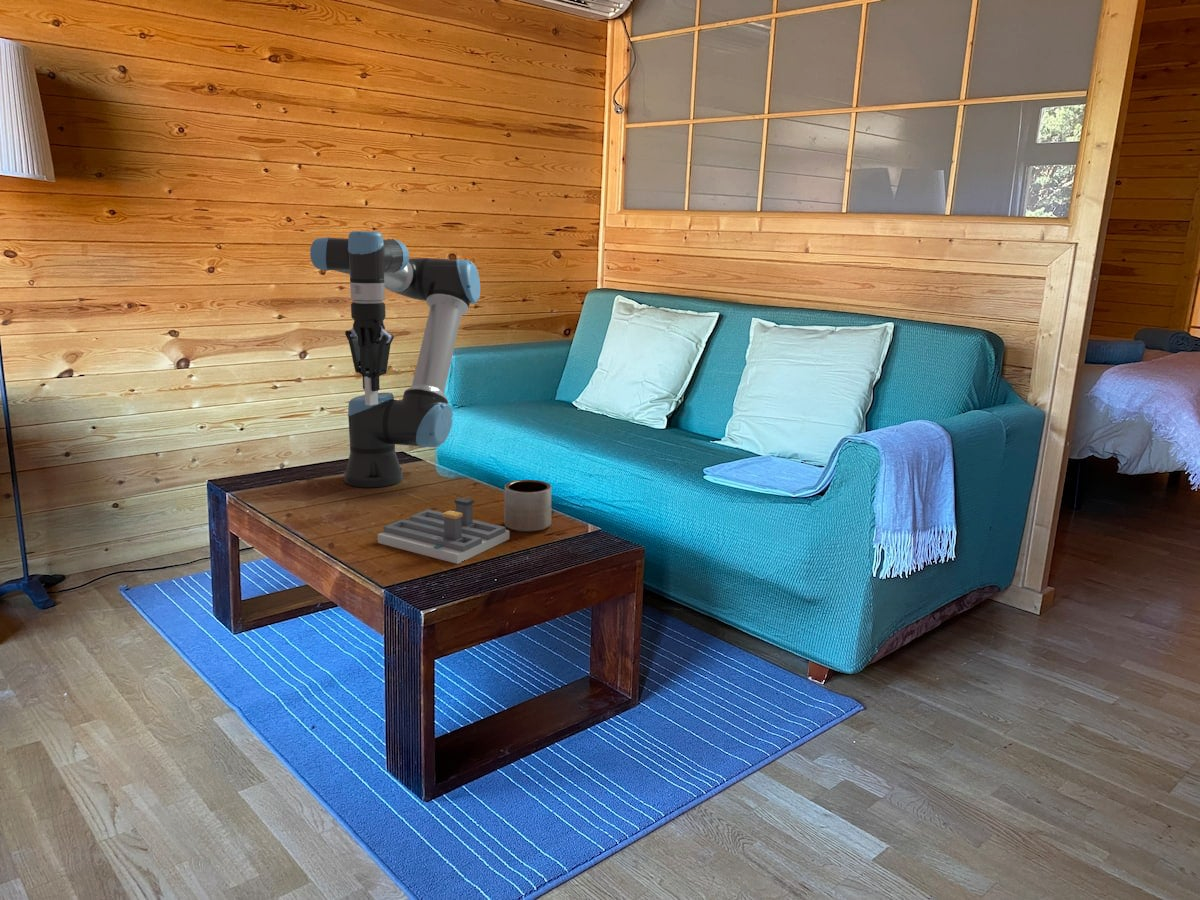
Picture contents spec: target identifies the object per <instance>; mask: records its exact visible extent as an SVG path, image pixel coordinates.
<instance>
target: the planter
mask: <svg viewBox="0 0 1200 900" xmlns="http://www.w3.org/2000/svg"><path fill="white" fill-rule="evenodd" d="M503 514H504V517H503V518H504V519H503V522H504V525H505V526H504V527H506V528H508V529H509V530H511V531H515V532H519V533H536V532H541V531H545V530H546V529H548V528H549V527H550V526H551V525H552V485H551V484H550V483H548V482H547V481H543V480H538V479H519V480H512V481H510V482H508V483H506V484H505V485H504V513H503Z"/></svg>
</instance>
